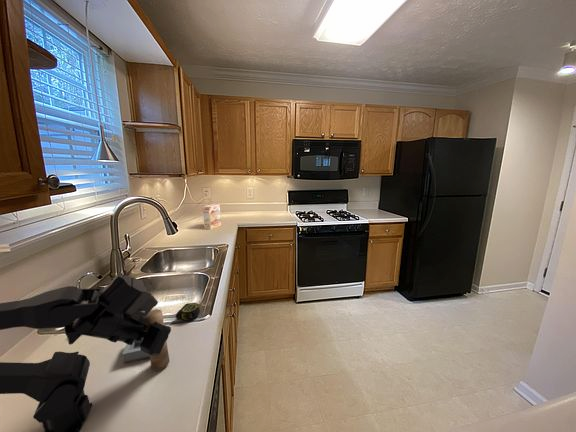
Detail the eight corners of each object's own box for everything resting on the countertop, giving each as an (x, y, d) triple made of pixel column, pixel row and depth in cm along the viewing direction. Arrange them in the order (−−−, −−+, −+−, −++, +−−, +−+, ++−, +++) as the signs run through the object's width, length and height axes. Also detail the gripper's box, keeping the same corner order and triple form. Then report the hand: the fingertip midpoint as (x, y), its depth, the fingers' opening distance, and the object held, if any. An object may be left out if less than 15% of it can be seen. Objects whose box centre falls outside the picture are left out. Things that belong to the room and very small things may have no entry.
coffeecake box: (211, 229, 203) (208, 206, 199) (204, 229, 206) (201, 206, 202) (221, 225, 217) (220, 203, 213) (215, 224, 220) (213, 203, 215)
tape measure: (187, 310, 91) (186, 301, 90) (204, 311, 90) (202, 302, 89) (176, 321, 85) (174, 312, 84) (193, 323, 83) (192, 313, 83)
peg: (149, 372, 63) (140, 321, 60) (153, 359, 67) (145, 311, 64) (168, 367, 64) (160, 317, 61) (170, 355, 69) (163, 308, 65)
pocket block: (123, 363, 67) (121, 354, 66) (132, 343, 74) (130, 335, 74) (155, 356, 69) (154, 347, 68) (161, 337, 77) (159, 329, 76)
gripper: (157, 296, 53) (200, 313, 65) (108, 281, 61) (154, 298, 73) (127, 352, 48) (180, 359, 60) (77, 327, 56) (133, 338, 68)
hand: (161, 335), depth 65 cm, fingers closed on peg, 4 cm apart
